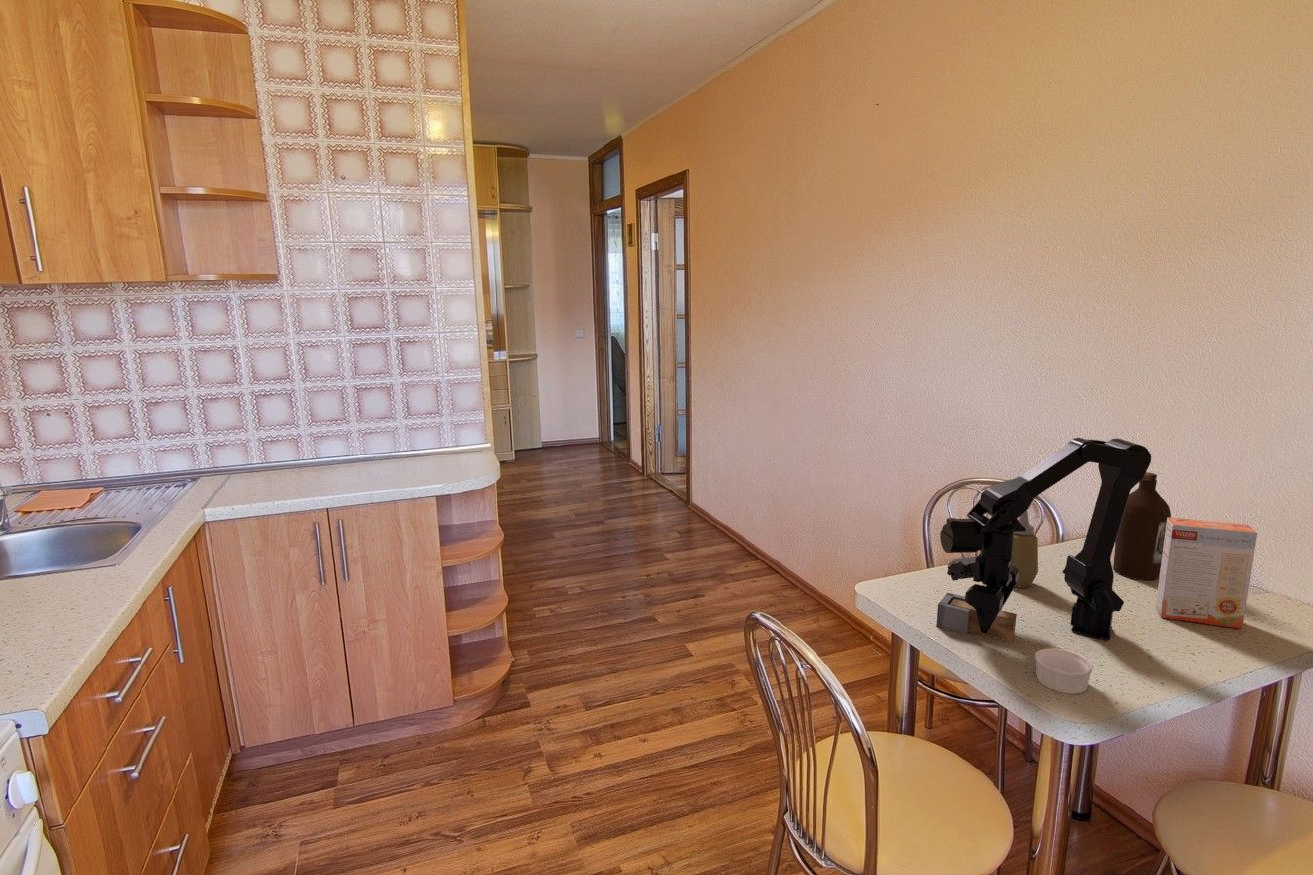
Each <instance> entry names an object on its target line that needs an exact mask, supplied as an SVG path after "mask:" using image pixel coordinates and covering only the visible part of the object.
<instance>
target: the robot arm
mask: <svg viewBox="0 0 1313 875" xmlns="http://www.w3.org/2000/svg"><path fill="white" fill-rule="evenodd" d="M1089 462H1090V463H1097V464H1098V466H1097V467H1098V470H1099V474H1100V475H1099V476H1100V480H1101V482H1100V483H1101V485H1100V487H1099V491H1098V494H1097V499H1096V501H1095V505H1094V508H1093V513H1092V515H1091V518H1090V522H1089V525H1088V529H1087V532H1086V536H1085V539H1084V543H1083V547H1082V549H1081V550H1080V552H1078V553H1077V554H1076V555H1075V556H1074V555H1071V554H1069V555H1068V556H1067V557H1066V563H1065V567H1064V569H1062V574H1064V578H1063V579H1064V582H1065V584H1066V585H1067V587H1069V589H1070V591H1071V594H1072V595H1074V596H1076V597H1077V599H1076V602H1074V603H1073V604H1072V608H1071V616H1070V623H1069V624H1070V625H1071V626H1072V627H1071V632H1073V633H1076V634H1080V635H1085V636H1089V637H1093V638H1097V639H1101V640H1104V641H1105V640H1106V641H1109V640H1110V638H1111V634H1112V632H1113V625H1112V624H1113V623H1112V622H1113V617H1114V616H1113V614H1114V612H1120V611H1121V610H1122V608H1123V606H1124V604H1125V601H1124V600H1123V599H1122V598H1121V597H1120V596H1119V595H1118V594H1117V593H1116V592H1115V591H1114V590H1113V585H1114V579H1115V578H1114V577H1115V576H1114V575H1115V574H1114V570H1113V564H1112V560H1111V558H1112V554H1113V551H1114V548H1115V541H1116V537H1117V534H1118V531H1119V527H1120V524H1121V521H1122V517H1123V514H1124V511H1125V507H1126V504H1127V500H1128V497H1129V494H1131V491H1132V489H1133V488H1134V487H1135V486H1136V485H1137V484H1139V482H1140V481H1141V480H1142V479H1143V477H1144V475H1145V473H1146V472H1148V469H1149V467H1150V466H1151V463H1152V454H1151V453H1150V451H1149V449H1148V448H1146V446H1143V445H1140V444H1138V443H1134V442H1131V441H1128V440H1125V439H1121V438H1112V439H1110V440H1108V441H1105V440H1099V439H1084V438H1083V437H1074V438H1072V439H1070V440H1069V441H1068V442H1067V444H1065V445H1064V446H1063V447H1061V448H1060V449H1058V450H1057V451H1055V452H1054V453H1052V454H1051V455H1050V456H1048V457H1047V458H1044V459H1043V460H1042V461H1041V462H1039V463H1037V464H1036V465H1034V466H1033V467H1031V468H1030V469H1029V470H1027V471H1025V472H1023V474H1021V475H1019V476H1017V477H1015V478H1012V479H1007V480H1004V481H1000V482H998V483H997V484H996V483H995V484H994V485H992V486H989V487H987V488H986V489H984V490H983V491H982V492H981V493H980V499H979V500H978V501H977V502H976V503H975V505H974V506H973V507H972V508H971V509H970V511H969V512H968V513H967V514H966V518H954V517H947V518H946V522H945V524H943V526H942V529H941V530H940V535H939V536H940V539H939V540H940V545H941V547H942V549H943V551H944V553H946V554H958V553H959V554H960V553H961V554H964V553H965V554H967V553H968V554H969V553H972V554H973V553H978V551H979V554H978V555H976V556H969V557H961V558H953V559H952V560H950V562H949V563H948V564H947V572H946V574H947V575H948V576H950V578H951V580H952V581H959V580H964V579H971V578H973V579H972V581H973V582H976V583H975V584H973V585H971V586H969V587H968V589H967V590H966V591H965V595H964V597H965V602H966V603H968V604H969V605H970V606H973V607H974V608H975V610H976V612H977V616H978V621H979V625H980V630H981V632H982V633H987V632H988V630H989V629H990V627H991V625H992V624H993V622H994V620H995V618H996V617H997V615H998V613H999V611H1000V610H1002V609H1003V608H1004V606H1005V604H1006V602H1007V601H1008V600H1009V597H1010V596H1011V595H1012V592H1013V590H1014V589H1015V585H1016V582H1017V581H1018V579H1019V570H1018V569H1017V568H1016V567H1015V566H1013V565H1011V563H1012V562H1013V560H1014V555H1012V549H1013V538H1014V532H1024V531H1026V528H1025V527H1023V526H1022V525H1021V524H1020V522H1019V520H1018V519H1019V517H1020V516H1021V515H1022V514H1023V513H1024V512H1025V511H1026V510H1027V511H1028V510H1029V508H1030V507H1031V505H1032V503H1033V501H1034V499H1036V498H1037V497H1038V496H1039V495H1040V494H1042V493H1044V492H1045V491H1046V490H1048V489H1050V488H1051V487H1052V486H1054V485H1056V484H1057V483H1059V482H1060V481H1061V480H1063V479H1065V478H1067V477H1068V476H1069V475H1072V473H1074V472H1075V471H1077V470H1078V469H1080V468H1081V467H1083V466H1084V465H1087V464H1088V463H1089ZM985 514H987V515H989V516H990V518H989V517H987V516H986V515H985ZM1012 578H1013V579H1012ZM1011 580H1012V581H1011ZM977 583H981V584H977Z"/></svg>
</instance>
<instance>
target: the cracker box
mask: <svg viewBox="0 0 1313 875" xmlns="http://www.w3.org/2000/svg"><path fill="white" fill-rule="evenodd" d="M1257 536H1258V532H1257V531H1256V530H1255V529H1253V528H1252V526H1250V525H1249V524H1244V523H1243V524H1242V523H1231V522H1223V521H1221V522H1220V521H1213V520H1211V521H1209V520H1202V519H1201V520H1200V519H1199V520H1198V519H1189V518H1181V517H1180V518H1179V517H1171V518H1169V517H1168V518H1167V524H1166V532H1165V539H1164V547H1163V555H1162V563H1161V569H1160V575H1159V578H1158V579H1159V580H1158V587H1157V594H1156V604H1155V609H1156V610H1157V612H1158V614H1159V616H1160V618H1163V619H1167V618H1169V619H1168V620H1175V619H1176V621H1182V620H1185V621H1184V622H1189V621H1191V622H1190V623H1196V622H1198V623H1197V624H1203V623H1204V624H1205V625H1211V626H1217V627H1218V626H1219V627H1226V628H1231V629H1240V630H1242V629H1243V626H1244V620H1245V613H1246V607H1247V601H1248V595H1249V594H1248V593H1249V588H1250V581H1251V577H1252V576H1251V575H1252V570H1253V562H1254V557H1255V556H1254V555H1255V550H1256V543H1257V539H1258V538H1257Z"/></svg>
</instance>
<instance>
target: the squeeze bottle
mask: <svg viewBox="0 0 1313 875" xmlns="http://www.w3.org/2000/svg"><path fill="white" fill-rule="evenodd" d="M1018 520H1019V522H1020V524H1021V525H1022V526H1023V527H1025V528H1026V531H1024V532H1014V538H1013V549H1012V555H1014V560H1013V562H1012V563H1011V565H1013V566H1015V567H1016V568H1017V569H1018V570H1019V579H1018V581H1017V582H1016V585H1015V587H1016V588H1028V587H1031V586H1032V584H1033V582H1034V581H1035V578H1036V576H1037V575H1038V572H1039V556H1038V555H1039V552H1038V550H1039V546H1038V542H1039V540H1038V536H1037V535H1036V534H1034V532H1035V531H1034V530H1035V526H1034V525H1032V524H1030V520H1029V514H1028V510H1026V511H1025V512H1024V513H1023V514H1022V515H1021V516H1020V517H1019V518H1018ZM1012 579H1013V578H1012ZM1011 581H1012V580H1011ZM1015 587H1014V588H1015Z"/></svg>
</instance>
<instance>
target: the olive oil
mask: <svg viewBox="0 0 1313 875" xmlns="http://www.w3.org/2000/svg"><path fill="white" fill-rule="evenodd" d="M1157 477H1158V474H1157V473H1153V472H1148V471H1146V473H1145V475H1144V477H1143V479H1142V480H1141V481H1140V482H1138V488H1136V489H1135V490H1134V491H1132V492H1130V494H1129V497H1128V500H1127V504H1126V507H1125V511H1124V514H1123V517H1122V521H1121V524H1120V527H1119V531H1118V534H1117V537H1116V541H1115V544H1114V556H1113V564H1112V569H1113V572H1114V573H1116V574H1118V573H1119V574H1118V575H1120V574H1121V575H1120V576H1123V575H1124V576H1123V577H1126V576H1127V577H1126V578H1129V577H1131V578H1130V579H1133V578H1136V579H1135V580H1139V579H1143V580H1142V581H1153V580H1152V579H1155V580H1157V579H1159V578H1160V570H1161V563H1162V555H1163V547H1164V539H1165V532H1166V524H1167V518H1168V517H1169V518H1172V512H1171V509H1170V508H1171V507H1170V505H1169V504H1168V503H1167V502H1166V500H1165V499H1164V498H1163V497H1162V496H1161V494H1159V492H1158V491H1157V490H1156V488H1157V482H1158V480H1157ZM1158 577H1159V578H1158ZM1156 578H1157V579H1156Z"/></svg>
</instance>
